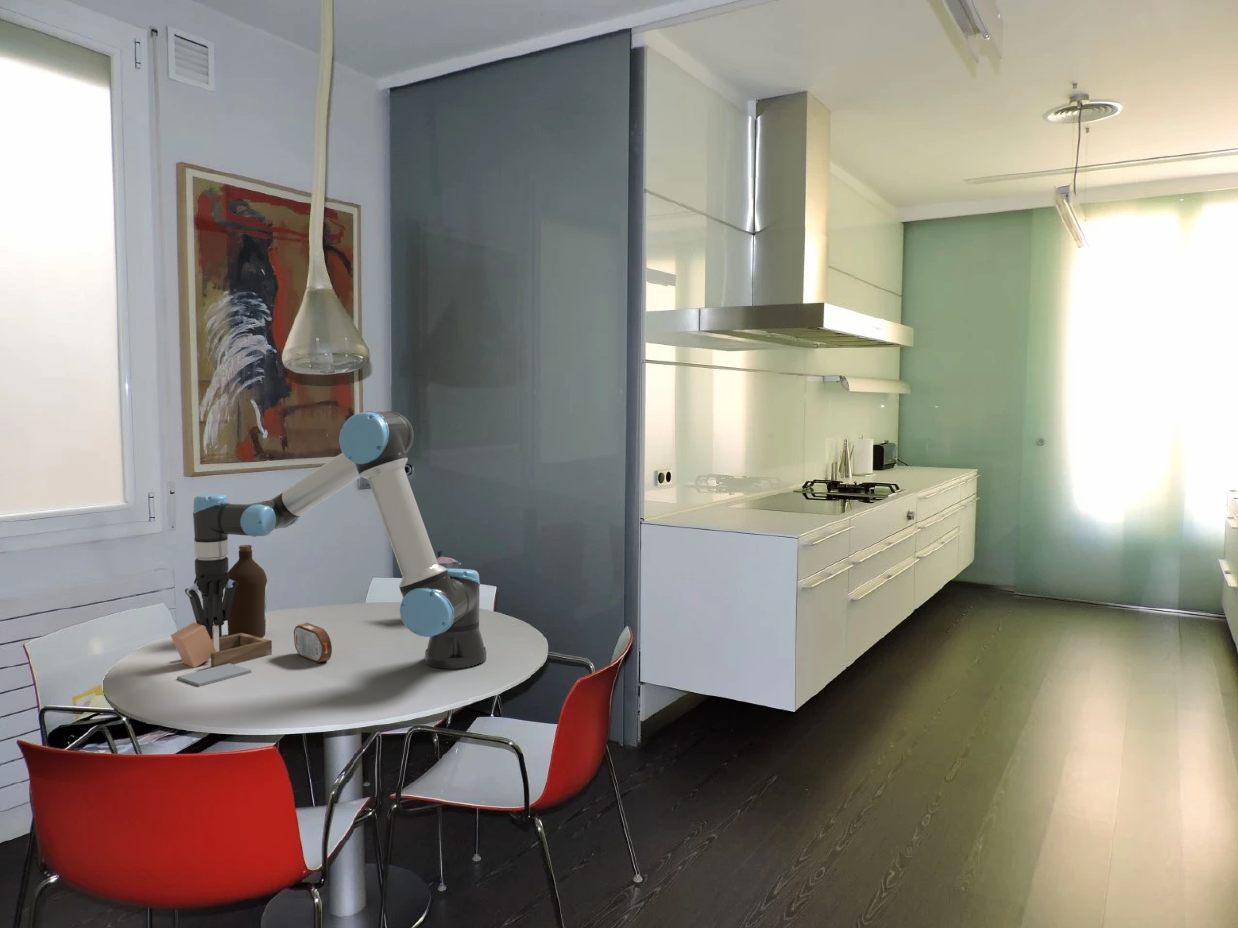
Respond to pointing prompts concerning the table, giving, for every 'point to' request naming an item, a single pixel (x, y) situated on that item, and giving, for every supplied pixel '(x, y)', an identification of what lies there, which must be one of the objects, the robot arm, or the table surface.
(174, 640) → the block
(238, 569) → the olive oil
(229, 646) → the bay
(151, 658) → the table surface
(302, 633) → the tin
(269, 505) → the robot arm
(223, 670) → the mat
